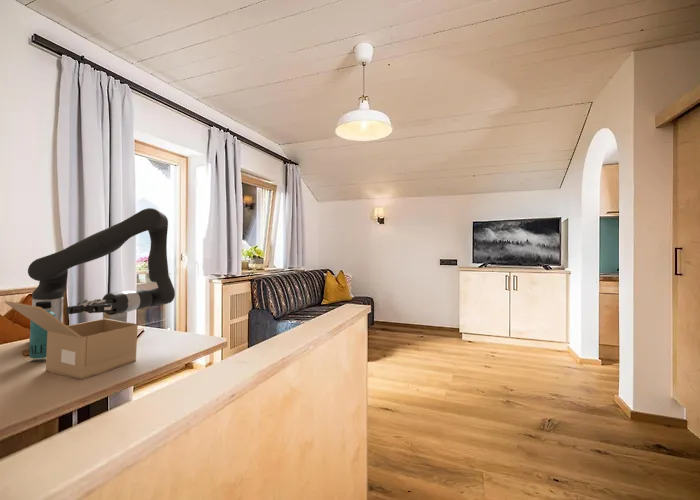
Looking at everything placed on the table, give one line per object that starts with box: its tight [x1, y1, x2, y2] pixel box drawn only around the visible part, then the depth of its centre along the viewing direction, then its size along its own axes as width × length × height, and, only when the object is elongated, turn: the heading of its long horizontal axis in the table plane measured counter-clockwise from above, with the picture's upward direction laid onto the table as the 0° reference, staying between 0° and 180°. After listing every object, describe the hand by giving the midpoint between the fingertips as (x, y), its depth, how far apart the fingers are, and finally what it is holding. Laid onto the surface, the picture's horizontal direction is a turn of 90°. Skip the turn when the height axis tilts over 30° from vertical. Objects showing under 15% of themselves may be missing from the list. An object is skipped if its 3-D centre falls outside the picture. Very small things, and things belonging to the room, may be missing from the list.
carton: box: [45, 318, 138, 381], centre depth 113 cm, size 17×18×13 cm
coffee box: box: [102, 312, 128, 322], centre depth 150 cm, size 9×6×16 cm
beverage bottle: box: [28, 301, 55, 360], centre depth 115 cm, size 6×7×20 cm
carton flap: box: [4, 300, 81, 338], centre depth 99 cm, size 15×15×1 cm
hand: (68, 310), depth 105 cm, fingers closed
